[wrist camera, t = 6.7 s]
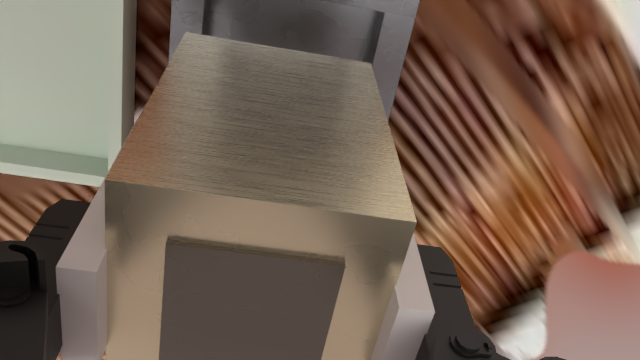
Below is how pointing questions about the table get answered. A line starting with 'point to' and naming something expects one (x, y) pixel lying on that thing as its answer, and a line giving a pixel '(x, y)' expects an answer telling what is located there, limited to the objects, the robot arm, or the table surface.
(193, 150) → the square wooden post
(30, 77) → the parts tray
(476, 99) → the table surface
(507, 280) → the table surface
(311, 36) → the grey compartment tray
